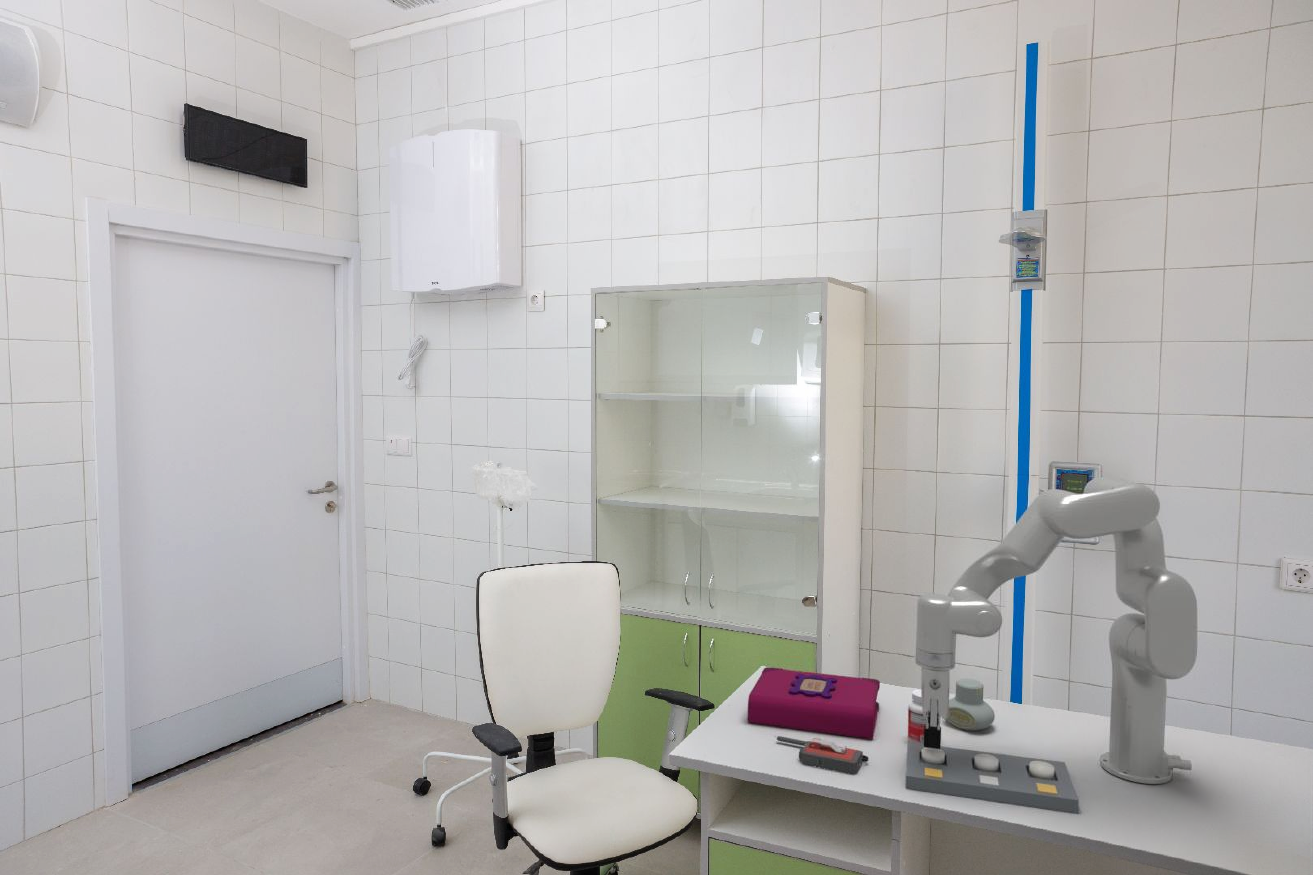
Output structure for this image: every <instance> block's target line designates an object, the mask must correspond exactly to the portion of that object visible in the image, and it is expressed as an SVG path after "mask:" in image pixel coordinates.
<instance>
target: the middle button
mask: <svg viewBox="0 0 1313 875" xmlns="http://www.w3.org/2000/svg"><path fill="white" fill-rule="evenodd" d="M998 762H999V760H998V759H997V758H996V757H994V756H992V755H989V754H977V755H975V761H974V766H975V768H976V769H978V770H981V771H988V772H997V771H998Z"/></svg>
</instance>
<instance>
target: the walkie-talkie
mask: <svg viewBox="0 0 1313 875" xmlns="http://www.w3.org/2000/svg"><path fill="white" fill-rule="evenodd" d="M776 741H778V742H781V743H787V744H791V745H797V746H802V747H803V748H800V749H799V752H798V758H799V759H800V760H801V764H802V765H804V766H808V767H809V766H810V767H813V766H816V767H815V768H818V767H820V768H819V769H823V770H830V771H833V770H834V771H833V772H838V773H843V774H847V775H853V776H855V775H857V774H858V773H859V772H860V770H861V767H862V765H863V763H867V762H868V761H869V756H868V755H864V752H863V750H858V749H854V748H853V749H852V748H849V747H847V745H842V746H838V745H837V744H835V742H833V741H831V740H828V739H827V740H826V739H821V738H815V737H814V738H812V739H811V740H800V739H796V738H792V737H786V736H781V735H777V737H776ZM824 768H825V769H824Z"/></svg>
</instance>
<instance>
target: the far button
mask: <svg viewBox="0 0 1313 875" xmlns="http://www.w3.org/2000/svg"><path fill="white" fill-rule="evenodd" d="M922 761H923V762H925V763H929V764H937V765H942V764H944V762H945V752H944V751H943V750H941V749H934V748H927V747H925V748H923V749H922Z"/></svg>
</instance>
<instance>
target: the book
mask: <svg viewBox="0 0 1313 875" xmlns="http://www.w3.org/2000/svg"><path fill="white" fill-rule="evenodd" d="M880 683H881V682H880V680H879V679H875V678H868V677H854V676H847V675H845V676H844V675H838V674H837V675H836V674H830V673H829V674H828V673H820V672H809V671H803V670H802V671H801V670H795V669H794V670H792V669H783V668H780V667H779V668H778V667H770V666H769V667H767V666H766V667H764V668H763V670H762V672H761V674H760V676H759V678H758V679H757V681H756V682H755V684H754V685H753V688H752V689H751V691H750V692H749V695H748V700H747V722H748V723H749V724H755V725H764V726H772V727H779V728H787V729H793V730H801V731H808V732H815V733H822V734H823V733H824V734H831V735H837V736H845V737H853V738H861V739H868V740H874V735H875V729H876V724H877V720H878V714H877V713H879V711H880V703H879V702H878V701H877V700H878V695H879V691H880V686H881V685H880Z"/></svg>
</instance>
